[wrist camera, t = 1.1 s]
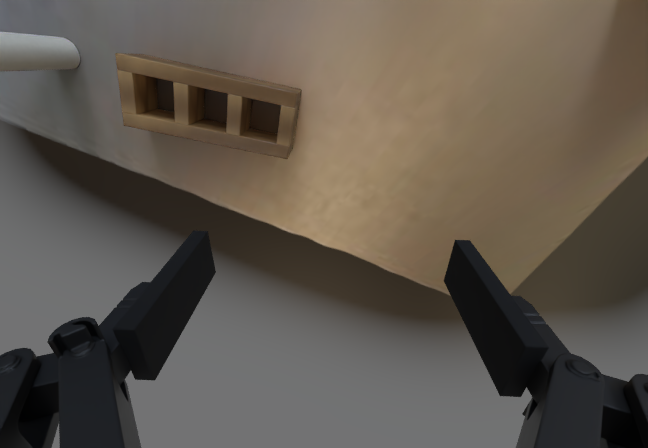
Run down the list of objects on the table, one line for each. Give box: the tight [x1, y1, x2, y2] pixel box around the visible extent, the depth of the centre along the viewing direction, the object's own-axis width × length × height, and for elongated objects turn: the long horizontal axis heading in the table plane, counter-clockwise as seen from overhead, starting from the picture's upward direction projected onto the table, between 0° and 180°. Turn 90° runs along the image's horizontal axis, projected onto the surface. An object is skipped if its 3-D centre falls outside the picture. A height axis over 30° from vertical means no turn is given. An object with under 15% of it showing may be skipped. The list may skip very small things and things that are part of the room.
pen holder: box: [116, 53, 301, 159], centre depth 36 cm, size 8×20×5 cm, turn 79°
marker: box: [0, 32, 80, 71], centre depth 30 cm, size 4×4×14 cm
